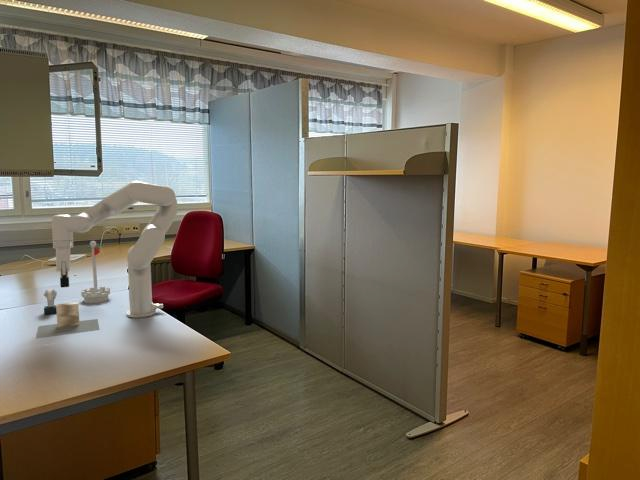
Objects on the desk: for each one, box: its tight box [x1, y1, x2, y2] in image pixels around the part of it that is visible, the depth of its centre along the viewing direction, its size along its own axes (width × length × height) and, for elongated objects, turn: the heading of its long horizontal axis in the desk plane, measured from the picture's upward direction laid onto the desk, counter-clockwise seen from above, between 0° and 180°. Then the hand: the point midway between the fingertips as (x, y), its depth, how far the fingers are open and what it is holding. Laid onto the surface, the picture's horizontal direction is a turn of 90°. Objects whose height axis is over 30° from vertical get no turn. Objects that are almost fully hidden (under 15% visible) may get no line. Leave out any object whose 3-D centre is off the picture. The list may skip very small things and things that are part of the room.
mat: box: [35, 318, 100, 339], centre depth 190 cm, size 22×16×1 cm
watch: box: [43, 288, 57, 316], centre depth 211 cm, size 6×8×11 cm
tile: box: [55, 301, 80, 327], centre depth 193 cm, size 8×2×9 cm, turn 118°
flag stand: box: [80, 240, 111, 304], centre depth 232 cm, size 13×13×30 cm
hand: (64, 286), depth 198 cm, fingers closed
